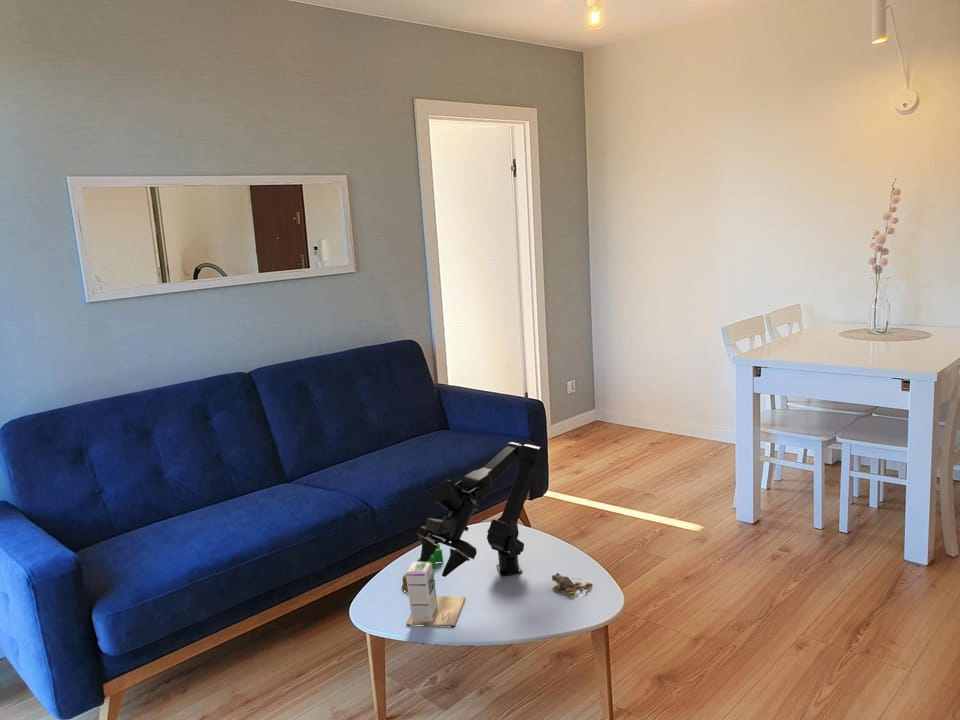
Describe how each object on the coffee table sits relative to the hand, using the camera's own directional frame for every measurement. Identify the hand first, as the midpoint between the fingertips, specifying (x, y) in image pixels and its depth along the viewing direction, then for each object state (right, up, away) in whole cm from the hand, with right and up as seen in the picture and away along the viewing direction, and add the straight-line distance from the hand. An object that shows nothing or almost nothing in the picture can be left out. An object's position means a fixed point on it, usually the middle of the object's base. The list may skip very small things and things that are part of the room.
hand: (431, 571), depth 197 cm
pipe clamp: (-1, -7, +29) cm, 30 cm away
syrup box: (-2, -12, 0) cm, 12 cm away
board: (+1, -12, +2) cm, 12 cm away
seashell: (-5, -10, +18) cm, 21 cm away
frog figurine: (+38, -8, +8) cm, 39 cm away
